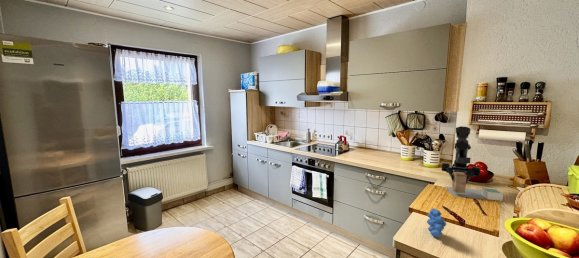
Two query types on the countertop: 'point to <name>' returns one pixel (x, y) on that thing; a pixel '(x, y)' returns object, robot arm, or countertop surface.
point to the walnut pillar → (459, 182)
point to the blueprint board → (479, 193)
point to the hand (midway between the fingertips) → (459, 181)
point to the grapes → (435, 223)
